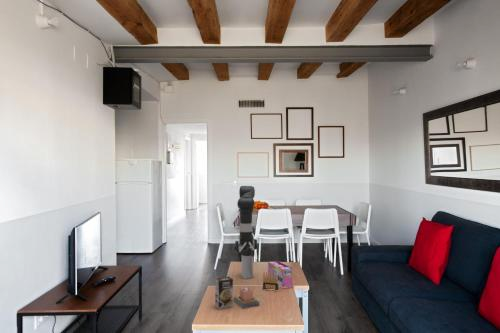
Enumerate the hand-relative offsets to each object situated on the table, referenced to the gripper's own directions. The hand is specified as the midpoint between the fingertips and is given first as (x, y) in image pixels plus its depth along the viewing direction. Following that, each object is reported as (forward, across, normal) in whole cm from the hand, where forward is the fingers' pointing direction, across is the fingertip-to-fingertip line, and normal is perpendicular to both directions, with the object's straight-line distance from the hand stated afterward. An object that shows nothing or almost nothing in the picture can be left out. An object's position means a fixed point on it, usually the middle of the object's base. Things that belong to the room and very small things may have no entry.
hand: (246, 257), depth 184 cm
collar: (+25, 0, 0) cm, 25 cm away
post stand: (+27, 0, 0) cm, 27 cm away
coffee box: (+28, +14, -1) cm, 31 cm away
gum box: (+28, -36, -22) cm, 51 cm away
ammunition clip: (+28, -24, -13) cm, 39 cm away
